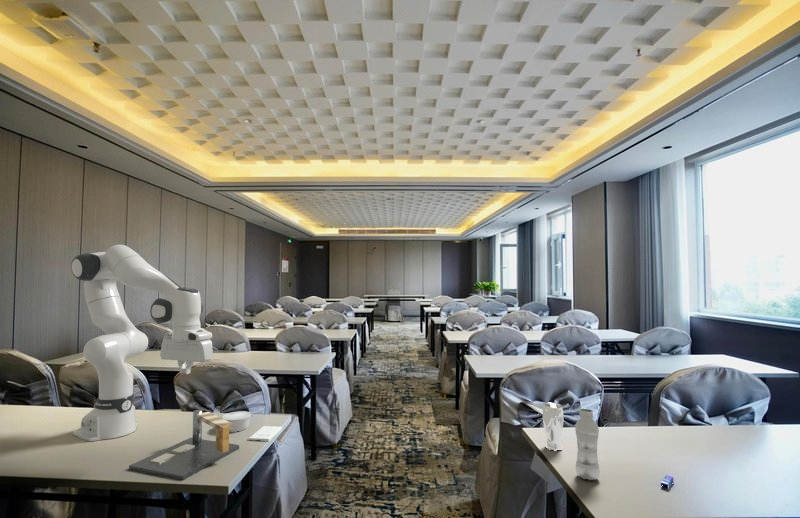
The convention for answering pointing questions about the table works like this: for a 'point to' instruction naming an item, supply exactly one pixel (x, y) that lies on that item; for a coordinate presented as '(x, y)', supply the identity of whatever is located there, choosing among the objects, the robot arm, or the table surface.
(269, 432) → the external hard drive
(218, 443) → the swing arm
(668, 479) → the eraser
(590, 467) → the plastic bottle
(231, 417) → the ramekin
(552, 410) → the beer glass
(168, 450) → the base plate
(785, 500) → the table surface
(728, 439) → the table surface
